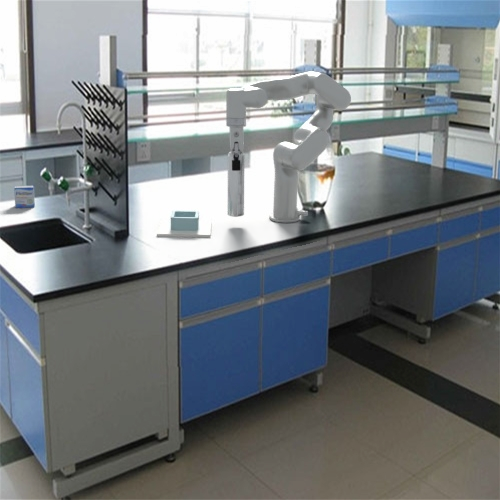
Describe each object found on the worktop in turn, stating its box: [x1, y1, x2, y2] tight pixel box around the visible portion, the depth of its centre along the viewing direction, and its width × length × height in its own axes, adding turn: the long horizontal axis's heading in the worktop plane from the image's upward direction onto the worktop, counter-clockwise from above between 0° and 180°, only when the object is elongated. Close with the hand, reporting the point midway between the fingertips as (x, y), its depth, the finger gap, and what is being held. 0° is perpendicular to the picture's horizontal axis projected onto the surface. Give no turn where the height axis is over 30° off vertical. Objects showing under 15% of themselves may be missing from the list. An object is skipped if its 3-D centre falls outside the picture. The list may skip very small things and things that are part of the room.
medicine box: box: [13, 185, 36, 209], centre depth 304 cm, size 8×4×9 cm, turn 105°
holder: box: [156, 210, 212, 238], centre depth 279 cm, size 20×20×6 cm
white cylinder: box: [227, 151, 246, 218], centre depth 281 cm, size 6×6×25 cm
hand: (236, 168), depth 279 cm, fingers closed on white cylinder, 6 cm apart
